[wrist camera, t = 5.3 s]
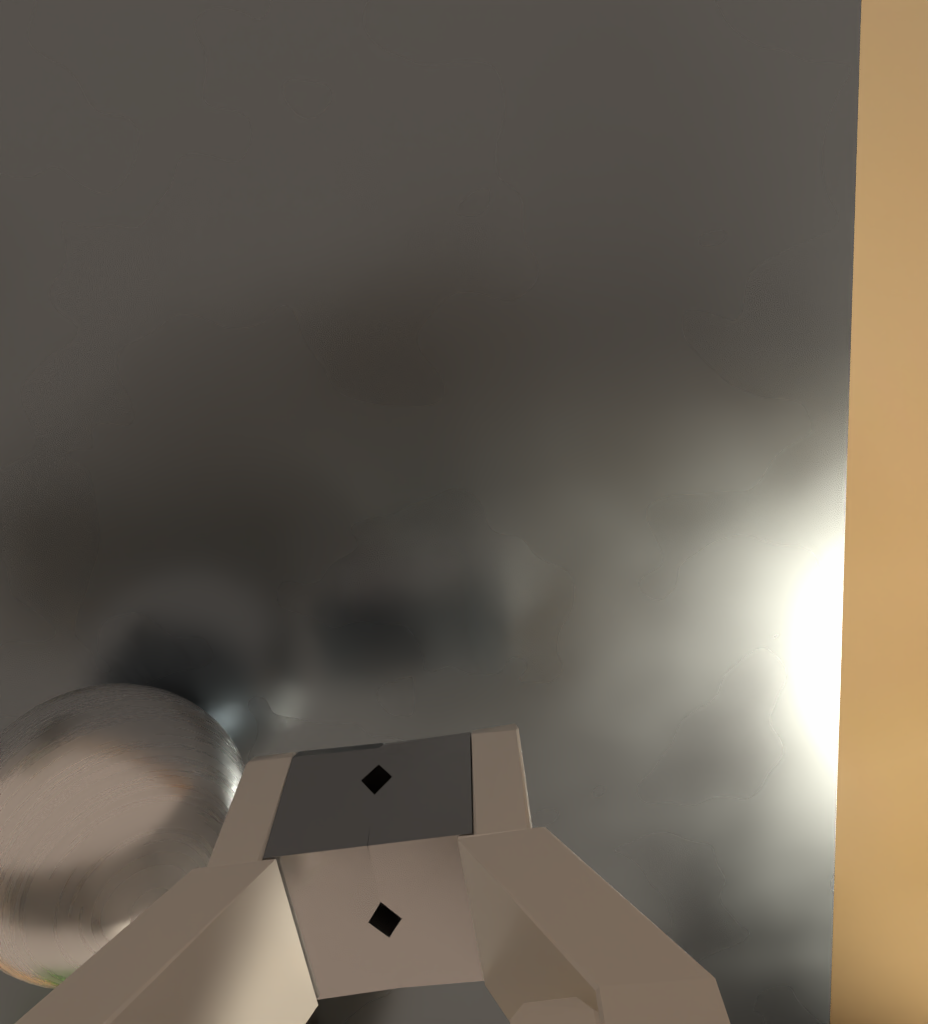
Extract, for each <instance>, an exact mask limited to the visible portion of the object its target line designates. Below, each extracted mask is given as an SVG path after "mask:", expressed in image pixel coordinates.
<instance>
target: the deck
mask: <svg viewBox="0 0 928 1024" xmlns="http://www.w3.org/2000/svg"><path fill="white" fill-rule="evenodd" d="M860 24H861V0H0V732H1V731H2V730H3V729H4V728H6V727H7V726H8V725H9V724H11V723H12V722H13V721H15V720H16V719H17V718H18V717H20V716H21V715H23V714H25V713H26V712H28V711H29V710H31V709H33V708H34V707H36V706H38V705H40V704H42V703H44V702H46V701H48V700H50V699H52V698H54V697H57V696H59V695H62V694H65V693H68V692H70V691H73V690H77V689H81V688H85V687H89V686H95V685H102V684H114V683H128V684H138V685H146V686H151V687H156V688H160V689H164V690H167V691H169V692H172V693H174V694H177V695H179V696H181V697H183V698H186V699H187V700H189V701H191V702H193V703H194V704H196V705H198V706H199V707H200V708H202V709H203V710H204V711H205V712H207V713H208V714H209V715H210V716H211V717H212V718H214V719H215V720H216V721H217V722H218V723H219V724H220V725H221V727H222V728H223V729H224V730H225V731H226V732H227V734H228V735H229V737H230V738H231V739H232V741H233V743H234V744H235V746H236V748H237V749H238V751H239V753H240V755H241V758H242V760H243V763H244V766H245V765H246V764H247V763H248V762H249V761H250V760H251V759H252V758H254V757H258V756H266V755H274V754H282V753H290V752H294V753H298V752H299V751H308V750H318V749H327V748H337V747H347V746H357V745H366V744H376V743H385V744H386V743H392V742H400V741H407V740H415V739H422V738H430V737H437V736H445V735H452V734H459V733H467V732H472V731H473V730H478V729H484V728H491V727H497V726H503V725H510V724H516V725H517V727H518V728H519V735H520V742H521V749H522V757H523V764H524V771H525V778H526V785H527V792H528V799H529V806H530V814H531V821H532V828H537V827H545V828H547V829H548V830H549V831H550V832H551V833H552V834H553V835H554V836H556V837H557V838H558V839H559V840H560V841H561V842H562V843H563V844H565V845H566V846H567V847H568V848H569V849H570V850H571V851H573V852H574V853H575V854H576V855H577V856H578V857H579V858H580V859H582V860H583V861H584V862H585V863H586V864H587V865H588V866H589V867H591V868H592V869H593V870H594V871H595V872H596V873H597V874H598V875H600V876H601V877H602V878H603V879H604V880H605V881H606V882H607V883H609V884H610V885H611V886H612V887H613V888H614V889H615V890H616V891H618V892H619V893H620V894H621V895H622V896H623V897H624V898H625V899H627V900H628V901H629V902H630V903H631V904H632V905H633V906H634V907H636V908H637V909H638V910H639V911H640V912H641V913H642V914H643V915H645V916H646V917H647V918H648V919H649V920H650V921H651V922H653V923H654V924H655V925H656V926H657V927H658V928H659V929H660V930H662V931H663V932H664V933H665V934H666V935H667V936H668V937H669V938H671V939H672V940H673V941H674V942H675V943H676V944H677V945H678V946H680V947H681V948H682V949H683V950H684V951H685V952H686V953H687V954H689V955H690V956H691V957H692V958H693V959H694V960H695V961H696V962H698V963H699V964H700V965H701V966H702V967H703V968H704V969H705V970H707V971H708V972H709V973H710V974H711V975H712V976H713V977H714V978H715V979H716V982H717V985H718V988H719V991H720V994H721V997H722V1000H723V1003H724V1006H725V1009H726V1012H727V1015H728V1018H729V1021H730V1024H830V1002H831V969H832V937H833V904H834V871H835V839H836V806H837V774H838V741H839V708H840V676H841V643H842V611H843V578H844V545H845V513H846V480H847V448H848V415H849V382H850V350H851V317H852V285H853V252H854V219H855V187H856V154H857V122H858V89H859V56H860ZM52 990H54V989H53V988H44V987H40V986H37V985H33V984H29V983H27V982H24V981H21V980H19V979H16V978H14V977H12V976H10V975H7V974H5V973H3V972H2V971H1V970H0V1024H14V1023H16V1022H17V1021H18V1020H19V1019H20V1018H21V1017H22V1016H24V1015H25V1014H26V1013H27V1012H28V1011H29V1010H31V1009H32V1008H33V1007H34V1006H35V1005H36V1004H37V1003H39V1002H40V1001H41V1000H42V999H43V998H44V997H46V996H47V995H48V994H49V993H50V992H51V991H52ZM317 1002H318V1006H317V1008H316V1009H315V1011H314V1012H313V1013H312V1015H311V1016H310V1018H309V1019H308V1021H307V1022H306V1024H510V1022H509V1020H508V1019H507V1017H506V1016H505V1014H504V1013H503V1011H502V1010H501V1008H500V1007H499V1005H498V1004H497V1002H496V1001H495V999H494V998H493V996H492V995H491V993H490V992H489V990H488V989H487V987H486V986H485V982H484V981H477V982H465V983H453V984H440V985H428V986H416V987H404V988H395V989H388V990H381V991H374V992H367V993H361V994H354V995H347V996H340V997H333V998H326V999H319V1000H317Z"/></svg>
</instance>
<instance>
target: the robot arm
mask: <svg viewBox="0 0 928 1024" xmlns="http://www.w3.org/2000/svg"><path fill="white" fill-rule="evenodd" d="M477 981H484V982H485V986H486V987H487V989H488V990H489V992H490V993H491V995H492V996H493V998H494V999H495V1001H496V1002H497V1004H498V1005H499V1007H500V1008H501V1010H502V1011H503V1013H504V1014H505V1016H506V1017H507V1019H508V1020H509V1022H510V1024H730V1021H729V1018H728V1015H727V1012H726V1009H725V1006H724V1003H723V1000H722V997H721V994H720V991H719V988H718V985H717V982H716V979H715V978H714V977H713V976H712V975H711V974H710V973H709V972H708V971H707V970H705V969H704V968H703V967H702V966H701V965H700V964H699V963H698V962H696V961H695V960H694V959H693V958H692V957H691V956H690V955H689V954H687V953H686V952H685V951H684V950H683V949H682V948H681V947H680V946H678V945H677V944H676V943H675V942H674V941H673V940H672V939H671V938H669V937H668V936H667V935H666V934H665V933H664V932H663V931H662V930H660V929H659V928H658V927H657V926H656V925H655V924H654V923H653V922H651V921H650V920H649V919H648V918H647V917H646V916H645V915H643V914H642V913H641V912H640V911H639V910H638V909H637V908H636V907H634V906H633V905H632V904H631V903H630V902H629V901H628V900H627V899H625V898H624V897H623V896H622V895H621V894H620V893H619V892H618V891H616V890H615V889H614V888H613V887H612V886H611V885H610V884H609V883H607V882H606V881H605V880H604V879H603V878H602V877H601V876H600V875H598V874H597V873H596V872H595V871H594V870H593V869H592V868H591V867H589V866H588V865H587V864H586V863H585V862H584V861H583V860H582V859H580V858H579V857H578V856H577V855H576V854H575V853H574V852H573V851H571V850H570V849H569V848H568V847H567V846H566V845H565V844H563V843H562V842H561V841H560V840H559V839H558V838H557V837H556V836H554V835H553V834H552V833H551V832H550V831H549V830H548V829H547V828H545V827H537V828H532V821H531V814H530V806H529V799H528V792H527V785H526V778H525V771H524V764H523V757H522V749H521V742H520V735H519V728H518V727H517V725H516V724H510V725H503V726H497V727H491V728H484V729H478V730H473V731H472V732H467V733H459V734H452V735H445V736H437V737H430V738H422V739H415V740H407V741H400V742H392V743H386V744H385V743H376V744H366V745H357V746H347V747H337V748H327V749H318V750H308V751H299V752H298V753H294V752H290V753H282V754H274V755H266V756H258V757H254V758H252V759H251V760H250V761H249V762H248V763H247V764H246V765H245V768H244V770H243V773H242V776H241V778H240V781H239V783H238V786H237V789H236V791H235V794H234V797H233V799H232V802H231V804H230V807H229V810H228V812H227V815H226V818H225V820H224V823H223V825H222V828H221V831H220V833H219V836H218V839H217V841H216V844H215V846H214V849H213V852H212V854H211V857H210V860H209V862H208V865H207V867H203V868H196V869H192V870H191V871H190V872H189V873H188V874H186V875H185V876H184V877H183V878H182V879H181V880H179V881H178V882H177V883H176V884H175V885H174V886H173V887H171V888H170V889H169V890H168V891H167V892H166V893H164V894H163V895H162V896H161V897H160V898H159V899H158V900H156V901H155V902H154V903H153V904H152V905H151V906H149V907H148V908H147V909H146V910H145V911H144V912H143V913H141V914H140V915H139V916H138V917H137V918H136V919H134V920H133V921H132V922H131V923H130V924H129V925H127V926H126V927H125V928H124V929H123V930H122V931H121V932H119V933H118V934H117V935H116V936H115V937H114V938H112V939H111V940H110V941H109V942H108V943H107V944H106V945H104V946H103V947H102V948H101V949H100V950H99V951H97V952H96V953H95V954H94V955H93V956H92V957H91V958H89V959H88V960H87V961H86V962H85V963H84V964H82V965H81V966H80V967H79V968H78V969H77V970H76V971H74V972H73V973H72V974H71V975H70V976H69V977H67V978H66V979H65V980H64V981H63V982H62V983H61V984H59V985H58V986H57V987H56V988H55V989H54V990H52V991H51V992H50V993H49V994H48V995H47V996H46V997H44V998H43V999H42V1000H41V1001H40V1002H39V1003H37V1004H36V1005H35V1006H34V1007H33V1008H32V1009H31V1010H29V1011H28V1012H27V1013H26V1014H25V1015H24V1016H22V1017H21V1018H20V1019H19V1020H18V1021H17V1022H16V1023H14V1024H306V1022H307V1021H308V1019H309V1018H310V1016H311V1015H312V1013H313V1012H314V1011H315V1009H316V1008H317V1006H318V1002H317V1000H319V999H326V998H333V997H340V996H347V995H354V994H361V993H367V992H374V991H381V990H388V989H395V988H404V987H416V986H428V985H440V984H453V983H465V982H477Z"/></svg>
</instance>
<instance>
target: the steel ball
mask: <svg viewBox="0 0 928 1024" xmlns="http://www.w3.org/2000/svg"><path fill="white" fill-rule="evenodd" d="M244 768H245V766H244V763H243V760H242V758H241V755H240V753H239V751H238V749H237V748H236V746H235V744H234V743H233V741H232V739H231V738H230V737H229V735H228V734H227V732H226V731H225V730H224V729H223V728H222V727H221V725H220V724H219V723H218V722H217V721H216V720H215V719H214V718H212V717H211V716H210V715H209V714H208V713H207V712H205V711H204V710H203V709H202V708H200V707H199V706H198V705H196V704H194V703H193V702H191V701H189V700H187V699H186V698H183V697H181V696H179V695H177V694H174V693H172V692H169V691H167V690H164V689H160V688H156V687H151V686H146V685H138V684H128V683H114V684H102V685H95V686H89V687H85V688H81V689H77V690H73V691H70V692H68V693H65V694H62V695H59V696H57V697H54V698H52V699H50V700H48V701H46V702H44V703H42V704H40V705H38V706H36V707H34V708H33V709H31V710H29V711H28V712H26V713H25V714H23V715H21V716H20V717H18V718H17V719H16V720H15V721H13V722H12V723H11V724H9V725H8V726H7V727H6V728H4V729H3V730H2V731H1V732H0V970H1V971H2V972H3V973H5V974H7V975H10V976H12V977H14V978H16V979H19V980H21V981H24V982H27V983H29V984H33V985H37V986H40V987H44V988H53V989H55V988H56V987H57V986H58V985H59V984H61V983H62V982H63V981H64V980H65V979H66V978H67V977H69V976H70V975H71V974H72V973H73V972H74V971H76V970H77V969H78V968H79V967H80V966H81V965H82V964H84V963H85V962H86V961H87V960H88V959H89V958H91V957H92V956H93V955H94V954H95V953H96V952H97V951H99V950H100V949H101V948H102V947H103V946H104V945H106V944H107V943H108V942H109V941H110V940H111V939H112V938H114V937H115V936H116V935H117V934H118V933H119V932H121V931H122V930H123V929H124V928H125V927H126V926H127V925H129V924H130V923H131V922H132V921H133V920H134V919H136V918H137V917H138V916H139V915H140V914H141V913H143V912H144V911H145V910H146V909H147V908H148V907H149V906H151V905H152V904H153V903H154V902H155V901H156V900H158V899H159V898H160V897H161V896H162V895H163V894H164V893H166V892H167V891H168V890H169V889H170V888H171V887H173V886H174V885H175V884H176V883H177V882H178V881H179V880H181V879H182V878H183V877H184V876H185V875H186V874H188V873H189V872H190V871H191V870H192V869H196V868H203V867H207V865H208V862H209V860H210V857H211V854H212V852H213V849H214V846H215V844H216V841H217V839H218V836H219V833H220V831H221V828H222V825H223V823H224V820H225V818H226V815H227V812H228V810H229V807H230V804H231V802H232V799H233V797H234V794H235V791H236V789H237V786H238V783H239V781H240V778H241V776H242V773H243V770H244Z"/></svg>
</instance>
